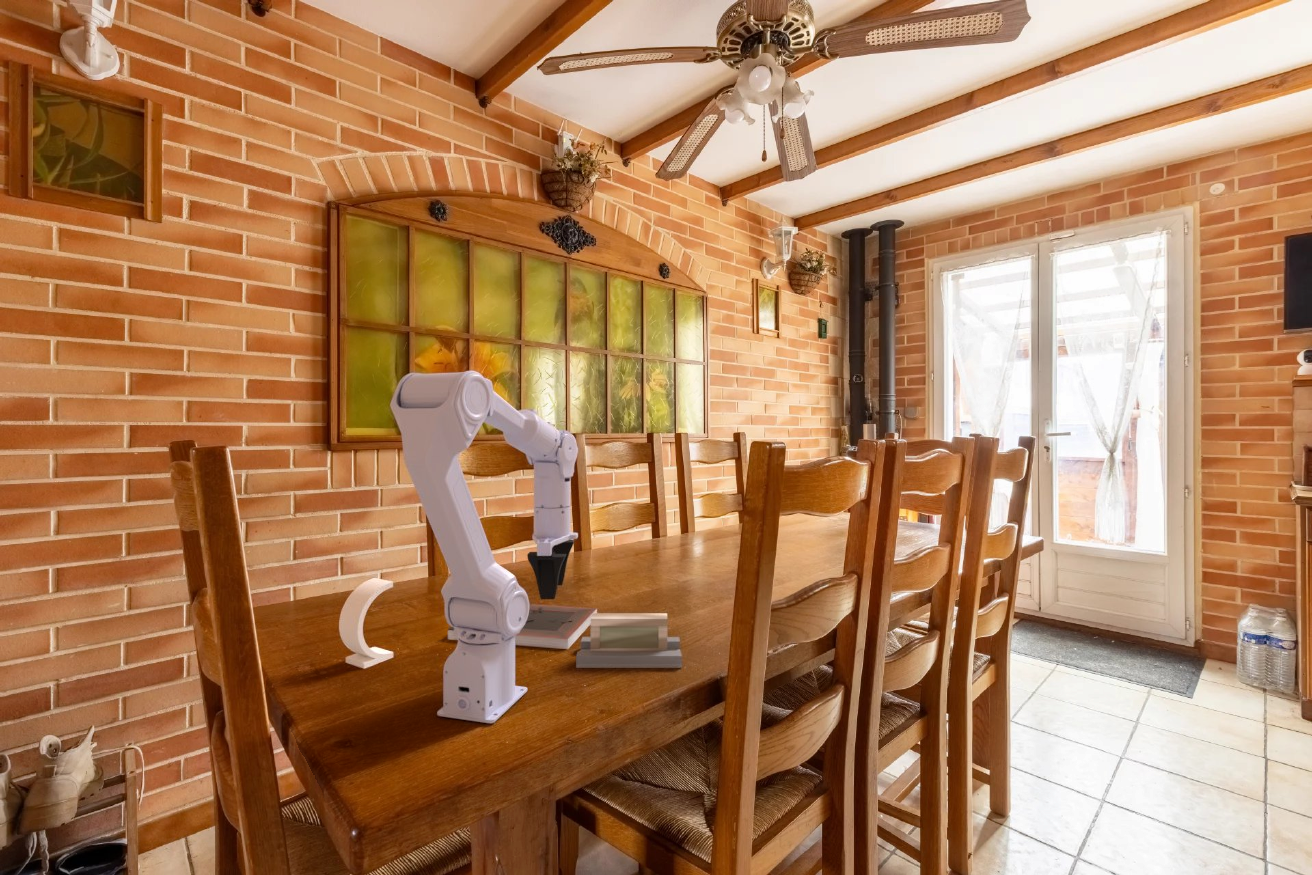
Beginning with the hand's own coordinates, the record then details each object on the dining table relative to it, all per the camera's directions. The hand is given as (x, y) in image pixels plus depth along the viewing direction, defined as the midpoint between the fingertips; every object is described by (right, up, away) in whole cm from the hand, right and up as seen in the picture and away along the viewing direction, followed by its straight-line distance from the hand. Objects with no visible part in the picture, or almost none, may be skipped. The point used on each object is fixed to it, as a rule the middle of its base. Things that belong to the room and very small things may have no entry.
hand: (552, 591), depth 92 cm
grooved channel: (+12, -11, 0) cm, 16 cm away
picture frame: (-7, -11, +14) cm, 19 cm away
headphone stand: (-28, -11, -2) cm, 30 cm away
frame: (+12, -10, 0) cm, 16 cm away
